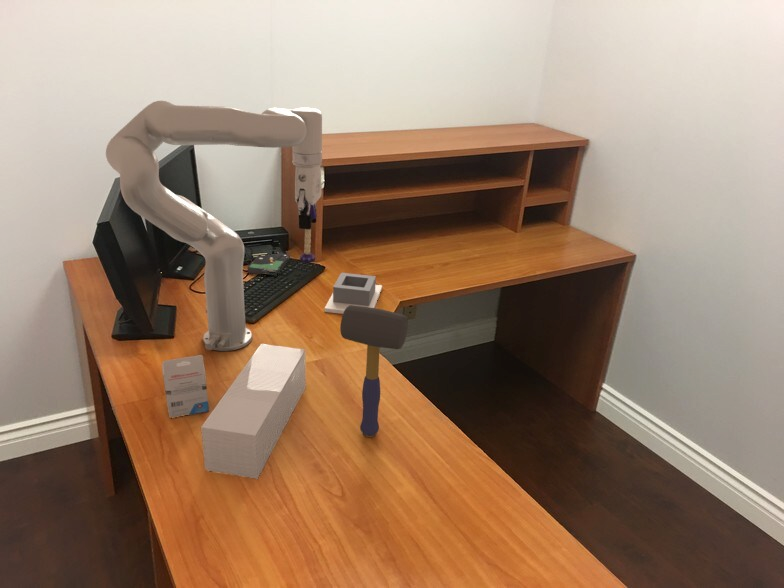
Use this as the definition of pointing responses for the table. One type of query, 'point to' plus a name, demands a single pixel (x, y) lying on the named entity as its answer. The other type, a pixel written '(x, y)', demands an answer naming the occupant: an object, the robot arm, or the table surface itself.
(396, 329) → the rubber mallet
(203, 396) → the ink box
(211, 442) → the long gray block
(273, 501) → the table surface
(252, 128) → the robot arm
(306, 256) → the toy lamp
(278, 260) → the disk drive
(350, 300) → the dock
